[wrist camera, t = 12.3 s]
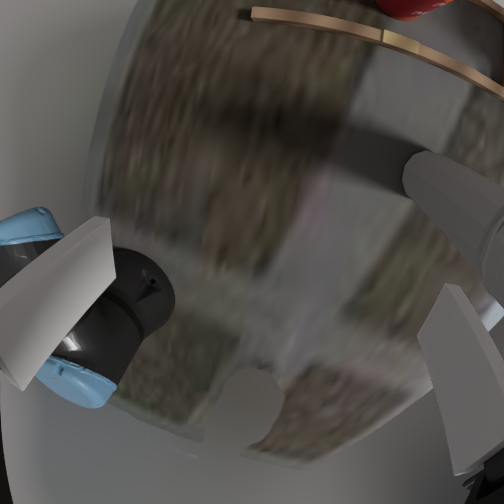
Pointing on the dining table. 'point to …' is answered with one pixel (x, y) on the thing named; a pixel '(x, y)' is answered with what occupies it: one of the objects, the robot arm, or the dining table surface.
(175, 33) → the dining table surface
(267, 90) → the dining table surface
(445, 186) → the water bottle
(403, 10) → the coffee cup
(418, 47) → the brown piece
